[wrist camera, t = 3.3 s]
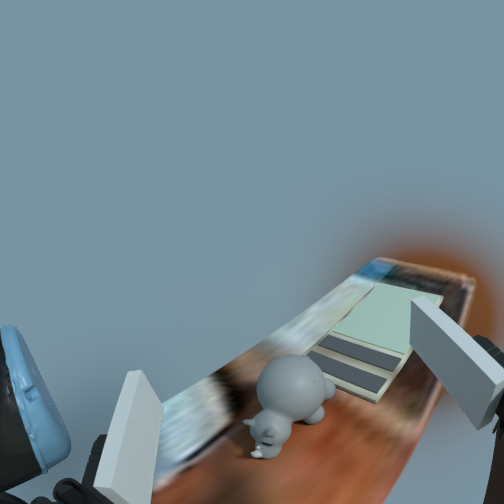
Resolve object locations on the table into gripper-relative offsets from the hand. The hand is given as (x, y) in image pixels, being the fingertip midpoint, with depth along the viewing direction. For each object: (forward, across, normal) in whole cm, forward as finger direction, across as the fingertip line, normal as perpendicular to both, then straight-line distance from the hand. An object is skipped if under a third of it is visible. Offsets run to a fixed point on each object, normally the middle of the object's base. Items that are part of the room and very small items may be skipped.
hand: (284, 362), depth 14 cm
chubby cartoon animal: (+12, -1, -20) cm, 23 cm away
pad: (+26, +18, -19) cm, 37 cm away
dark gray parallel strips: (+19, +9, -19) cm, 28 cm away
